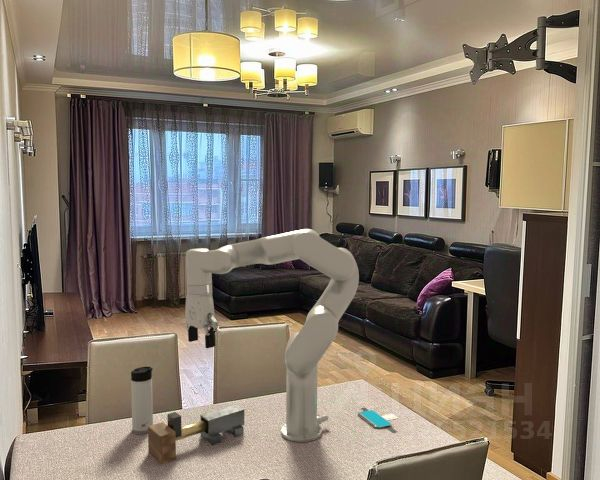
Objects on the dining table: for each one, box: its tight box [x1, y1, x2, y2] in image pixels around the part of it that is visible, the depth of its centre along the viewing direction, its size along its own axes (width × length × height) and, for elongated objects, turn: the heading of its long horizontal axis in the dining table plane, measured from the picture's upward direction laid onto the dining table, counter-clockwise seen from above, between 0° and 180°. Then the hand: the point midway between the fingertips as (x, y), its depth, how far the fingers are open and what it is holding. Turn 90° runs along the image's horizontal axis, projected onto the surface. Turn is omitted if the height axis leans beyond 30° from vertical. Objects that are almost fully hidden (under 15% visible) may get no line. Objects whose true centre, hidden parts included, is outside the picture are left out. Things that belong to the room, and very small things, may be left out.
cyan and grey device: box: [357, 407, 399, 433], centre depth 176 cm, size 20×12×2 cm, turn 23°
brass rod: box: [166, 411, 208, 442], centre depth 155 cm, size 18×4×8 cm, turn 130°
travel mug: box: [130, 366, 154, 435], centre depth 166 cm, size 6×7×20 cm
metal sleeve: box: [200, 403, 245, 446], centre depth 163 cm, size 12×7×8 cm, turn 130°
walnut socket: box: [147, 421, 177, 465], centre depth 150 cm, size 4×8×8 cm, turn 40°
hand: (201, 344), depth 164 cm, fingers open, 9 cm apart
